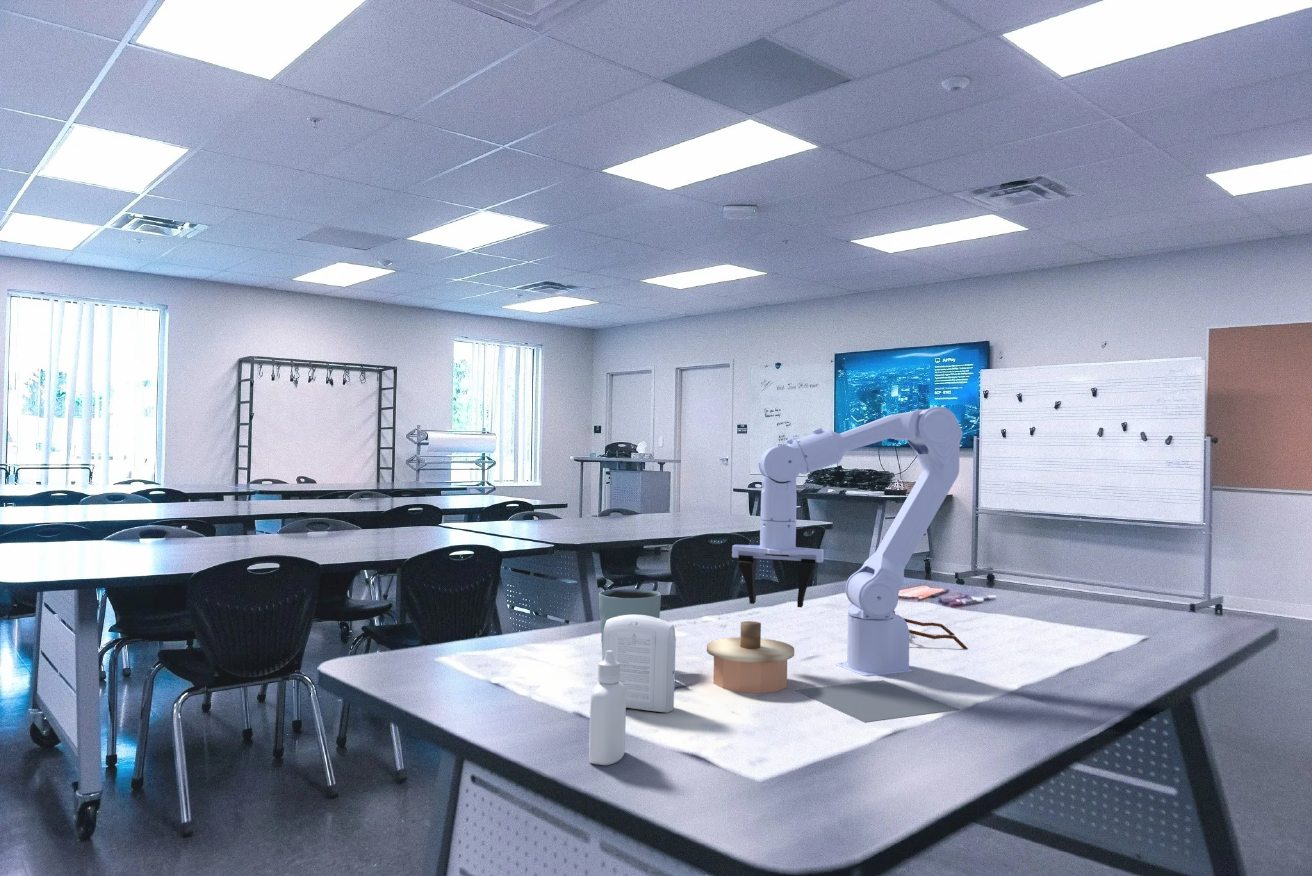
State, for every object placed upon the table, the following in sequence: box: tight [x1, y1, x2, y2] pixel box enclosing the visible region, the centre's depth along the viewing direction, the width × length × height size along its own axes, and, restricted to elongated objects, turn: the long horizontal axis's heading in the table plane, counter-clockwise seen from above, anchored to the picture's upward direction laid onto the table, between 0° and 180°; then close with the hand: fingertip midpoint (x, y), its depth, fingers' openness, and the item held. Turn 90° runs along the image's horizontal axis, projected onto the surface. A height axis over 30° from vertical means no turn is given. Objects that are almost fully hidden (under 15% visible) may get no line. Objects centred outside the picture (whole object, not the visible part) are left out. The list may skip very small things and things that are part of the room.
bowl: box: [712, 656, 788, 694], centre depth 130 cm, size 11×11×5 cm
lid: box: [706, 620, 795, 663], centre depth 130 cm, size 13×13×4 cm
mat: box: [794, 679, 961, 723], centre depth 122 cm, size 16×16×1 cm
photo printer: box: [601, 615, 677, 714], centre depth 118 cm, size 10×4×12 cm, turn 72°
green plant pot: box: [598, 588, 662, 659], centre depth 139 cm, size 10×10×12 cm
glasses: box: [893, 610, 969, 650], centre depth 165 cm, size 13×13×5 cm
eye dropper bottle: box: [588, 650, 627, 766], centre depth 98 cm, size 4×6×12 cm
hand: (776, 604), depth 140 cm, fingers open, 7 cm apart
